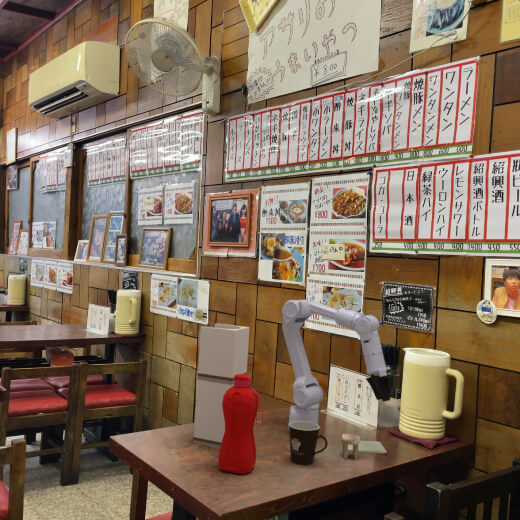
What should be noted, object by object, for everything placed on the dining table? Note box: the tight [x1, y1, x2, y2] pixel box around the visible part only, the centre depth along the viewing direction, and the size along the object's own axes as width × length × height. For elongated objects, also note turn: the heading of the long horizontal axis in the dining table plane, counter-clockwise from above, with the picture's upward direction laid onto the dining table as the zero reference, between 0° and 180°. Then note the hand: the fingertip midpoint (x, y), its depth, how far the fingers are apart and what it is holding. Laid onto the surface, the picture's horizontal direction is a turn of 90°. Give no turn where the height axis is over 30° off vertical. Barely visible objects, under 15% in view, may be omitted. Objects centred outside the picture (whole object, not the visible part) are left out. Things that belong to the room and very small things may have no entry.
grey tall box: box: [192, 323, 250, 450], centre depth 164 cm, size 11×11×35 cm
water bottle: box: [218, 374, 264, 475], centre depth 144 cm, size 9×11×25 cm
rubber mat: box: [348, 440, 388, 454], centre depth 168 cm, size 12×9×1 cm
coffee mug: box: [288, 421, 329, 466], centre depth 152 cm, size 12×9×10 cm
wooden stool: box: [341, 432, 361, 460], centre depth 159 cm, size 5×5×6 cm
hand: (383, 400), depth 162 cm, fingers open, 7 cm apart
